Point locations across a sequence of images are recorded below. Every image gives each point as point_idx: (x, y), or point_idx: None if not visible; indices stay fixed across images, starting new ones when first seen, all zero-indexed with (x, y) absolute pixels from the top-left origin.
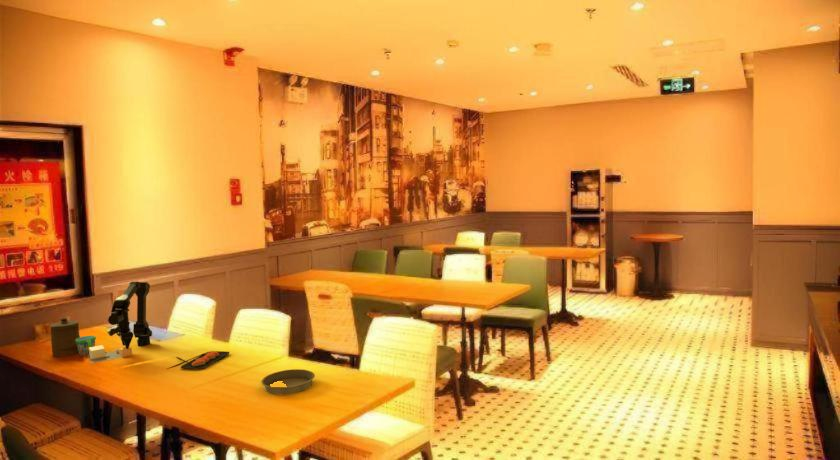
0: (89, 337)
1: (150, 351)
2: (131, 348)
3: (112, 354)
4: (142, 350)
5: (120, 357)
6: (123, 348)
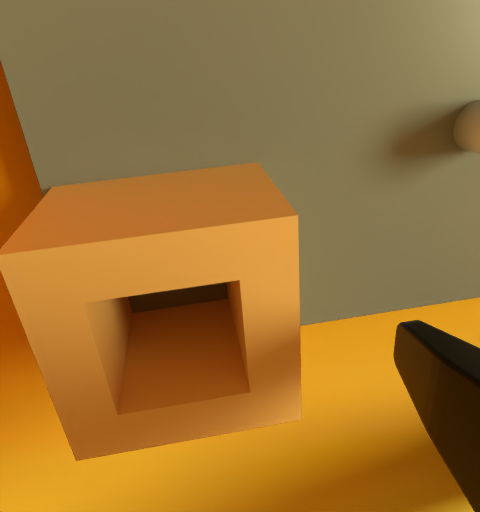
0: None
1: (263, 491)
2: (75, 454)
3: (446, 7)
4: (390, 421)
5: (39, 156)
6: (238, 299)
